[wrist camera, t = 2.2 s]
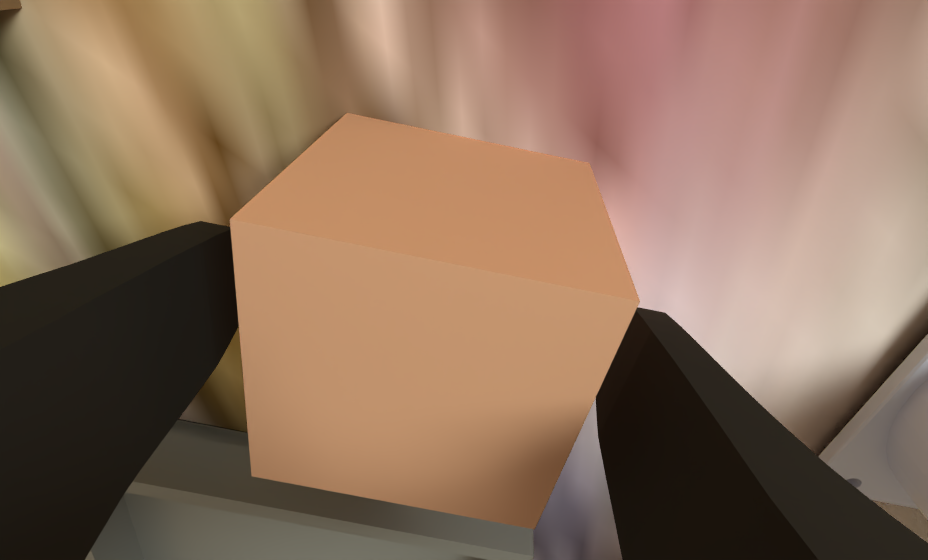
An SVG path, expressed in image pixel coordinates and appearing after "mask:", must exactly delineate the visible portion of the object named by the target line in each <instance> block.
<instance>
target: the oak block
mask: <svg viewBox="0 0 928 560" xmlns="http://www.w3.org/2000/svg"><path fill="white" fill-rule="evenodd" d="M18 8H22V6H21V2H20V0H0V10H8V9H18Z"/></svg>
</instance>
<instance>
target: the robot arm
mask: <svg viewBox="0 0 928 560" xmlns="http://www.w3.org/2000/svg"><path fill="white" fill-rule="evenodd" d="M238 326H239V322H238V310H237V299H236V287H235V275H234V263H233V251H232V240H231V228H230V227H227V226H222V225H217V224H212V223H207V222H202V221H199V222H195V223H191V224H187V225H184V226H181V227H177V228H174V229H171V230H168V231H165V232H162V233H159V234H156V235H153V236H151V237H148V238H145V239H142V240H139V241H136V242H134V243H131V244H128V245H125V246H122V247H119V248H117V249H114V250H111V251H108V252H105V253H102V254H99V255H97V256H94V257H91V258H88V259H85V260H82V261H80V262H77V263H74V264H71V265H68V266H65V267H61V268H58V269H55V270H52V271H49V272H46V273H43V274H39V275H36V276H33V277H30V278H27V279H24V280H21V281H17V282H14V283H11V284H8V285H5V286H2V287H0V560H85V559H86V557H87V555H88V554H89V552H90V550H91V548H92V547H93V545H94V543H95V542H96V540H97V538H98V537H99V535H100V533H101V532H102V530H103V528H104V527H105V525H106V523H107V522H108V520H109V518H110V517H111V515H112V513H113V512H114V510H115V508H116V507H117V505H118V503H119V502H120V500H121V498H122V497H123V495H124V494H125V492H126V491H127V489H128V488H129V486H130V485H131V483H132V482H133V480H134V479H135V477H136V476H137V474H138V473H139V472H140V470H141V469H142V467H143V466H144V465H145V463H146V462H147V461H148V459H149V458H150V457H151V455H152V454H153V453H154V451H155V450H156V448H157V447H158V446H159V444H160V443H161V442H162V440H163V439H164V438H165V436H166V435H167V434H168V432H169V431H170V430H171V428H172V427H173V425H174V424H175V423H176V421H177V420H178V419H179V417H180V416H181V415H182V413H183V412H184V411H185V409H186V408H187V407H188V405H189V404H190V402H191V401H192V400H193V398H194V397H195V396H196V394H197V393H198V391H199V390H200V389H201V387H202V386H203V385H204V383H205V382H206V380H207V379H208V378H209V376H210V375H211V373H212V372H213V371H214V369H215V368H216V366H217V365H218V363H219V361H220V360H221V358H222V356H223V354H224V353H225V351H226V349H227V347H228V345H229V344H230V342H231V340H232V338H233V336H234V334H235V332H236V330H237V328H238ZM596 411H597V426H598V438H599V443H600V449H601V454H602V459H603V464H604V469H605V475H606V480H607V485H608V490H609V494H610V499H611V504H612V509H613V514H614V519H615V524H616V529H617V534H618V539H619V544H620V549H621V554H622V559H623V560H928V543H927V542H926V541H924V540H923V539H921V538H920V537H919V536H917V535H916V534H915V533H913V532H912V531H911V530H909V529H908V528H907V527H905V526H904V525H903V524H901V523H900V522H899V521H897V520H896V519H895V518H893V517H892V516H891V515H889V514H888V513H887V512H886V511H884V510H883V509H882V508H881V507H879V506H878V505H877V504H876V503H874V502H873V501H872V500H874V501H879V502H884V503H889V504H894V505H899V506H905V507H910V508H915V509H919V510H920V511H921V512H922V514H923V515H924V517H925V518H926V519H927V521H928V334H927V335H926V336H925V337H924V339H923V340H922V341H921V342H920V343H919V344H918V345H917V346H916V347H915V349H914V350H913V351H912V352H911V353H910V354H909V355H908V356H907V358H906V359H905V360H904V361H903V362H902V363H901V364H900V365H899V367H898V368H897V369H896V370H895V371H894V372H893V373H892V374H891V375H890V377H889V378H888V379H887V380H886V381H885V382H884V383H883V384H882V386H881V387H880V388H879V389H878V390H877V391H876V392H875V393H874V395H873V396H872V397H871V398H870V399H869V400H868V401H867V402H866V403H865V405H864V406H863V407H862V408H861V409H860V410H859V411H858V412H857V414H856V415H855V416H854V417H853V418H852V419H851V420H850V421H849V423H848V424H847V425H846V426H845V427H844V428H843V429H842V430H841V431H840V433H839V434H838V435H837V436H836V437H835V438H834V439H833V440H832V442H831V443H830V444H829V445H828V446H827V447H826V448H825V449H824V451H823V452H822V453H821V454H820V455H819V456H817V455H815V454H814V453H813V452H812V451H811V450H810V449H809V448H808V447H806V446H805V445H804V444H803V443H802V442H801V441H800V440H799V439H797V438H796V437H795V436H794V435H793V434H792V433H791V432H790V431H788V430H787V429H786V428H785V427H784V426H783V425H782V424H781V423H780V422H778V421H777V420H776V419H775V418H774V417H773V416H772V415H771V414H770V413H769V412H768V411H767V410H766V409H765V408H763V407H762V406H761V405H760V404H759V403H758V402H757V401H756V400H755V399H754V398H753V397H752V396H751V395H750V394H749V393H748V392H747V391H746V390H745V389H744V388H743V387H742V386H741V385H740V384H739V383H737V382H736V381H735V380H734V379H733V378H732V377H731V376H730V375H729V374H728V373H727V372H726V371H725V370H724V369H723V368H722V367H721V366H720V365H719V364H718V363H717V362H716V361H715V360H714V359H713V358H712V357H711V356H710V355H709V354H708V353H707V352H706V351H705V350H704V349H703V348H702V347H701V346H700V345H699V344H698V343H697V342H696V341H695V340H694V339H693V338H692V337H691V336H690V335H689V334H688V333H687V332H686V331H685V330H684V329H683V328H682V327H681V326H680V325H679V324H677V323H676V322H675V321H674V320H673V319H672V318H671V317H669V316H668V315H667V314H666V313H663V312H658V311H653V310H648V309H643V308H638V307H637V309H636V311H635V313H634V315H633V317H632V320H631V322H630V324H629V326H628V328H627V330H626V333H625V335H624V337H623V339H622V341H621V343H620V346H619V348H618V350H617V352H616V354H615V356H614V359H613V361H612V363H611V365H610V367H609V369H608V372H607V374H606V376H605V378H604V380H603V382H602V385H601V387H600V389H599V391H598V393H597V395H596Z"/></svg>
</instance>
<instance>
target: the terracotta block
mask: <svg viewBox="0 0 928 560" xmlns="http://www.w3.org/2000/svg"><path fill="white" fill-rule="evenodd" d="M230 228H231V240H232V251H233V263H234V275H235V287H236V299H237V310H238V322H239V334H240V346H241V358H242V369H243V381H244V393H245V405H246V417H247V428H248V440H249V452H250V464H251V476H253V477H258V478H264V479H269V480H274V481H280V482H285V483H290V484H296V485H301V486H306V487H312V488H317V489H322V490H327V491H333V492H338V493H343V494H349V495H354V496H359V497H365V498H370V499H375V500H381V501H386V502H391V503H397V504H402V505H407V506H413V507H418V508H423V509H429V510H434V511H439V512H445V513H450V514H455V515H461V516H466V517H471V518H476V519H482V520H487V521H492V522H498V523H503V524H508V525H514V526H519V527H524V528H530V529H535V528H536V525H537V523H538V521H539V519H540V517H541V515H542V512H543V510H544V508H545V506H546V504H547V502H548V499H549V497H550V495H551V493H552V491H553V489H554V486H555V484H556V482H557V480H558V478H559V476H560V473H561V471H562V469H563V467H564V465H565V463H566V460H567V458H568V456H569V454H570V452H571V450H572V447H573V445H574V443H575V441H576V439H577V437H578V434H579V432H580V430H581V428H582V426H583V424H584V421H585V419H586V417H587V415H588V413H589V411H590V408H591V406H592V404H593V402H594V400H595V398H596V395H597V393H598V391H599V389H600V387H601V385H602V382H603V380H604V378H605V376H606V374H607V372H608V369H609V367H610V365H611V363H612V361H613V359H614V356H615V354H616V352H617V350H618V348H619V346H620V343H621V341H622V339H623V337H624V335H625V333H626V330H627V328H628V326H629V324H630V322H631V320H632V317H633V315H634V313H635V311H636V309H637V307H638V304H639V302H640V300H639V298H638V295H637V292H636V289H635V287H634V284H633V281H632V278H631V276H630V273H629V270H628V268H627V265H626V262H625V259H624V257H623V254H622V251H621V248H620V246H619V243H618V240H617V237H616V235H615V232H614V229H613V226H612V224H611V221H610V218H609V216H608V213H607V210H606V207H605V205H604V202H603V199H602V196H601V194H600V191H599V188H598V185H597V183H596V180H595V177H594V174H593V172H592V169H591V166H590V164H589V163H586V162H581V161H576V160H572V159H567V158H562V157H557V156H552V155H548V154H543V153H538V152H533V151H528V150H523V149H519V148H514V147H509V146H504V145H499V144H494V143H490V142H485V141H480V140H475V139H470V138H466V137H461V136H456V135H451V134H446V133H441V132H437V131H432V130H427V129H422V128H417V127H413V126H408V125H403V124H398V123H393V122H388V121H384V120H379V119H374V118H369V117H364V116H359V115H355V114H350V113H346V114H345V115H344V116H343V117H342V118H341V119H340V120H338V121H337V122H336V123H335V124H334V125H333V126H332V127H331V128H330V129H328V130H327V131H326V132H325V133H324V134H323V135H322V136H321V137H320V138H319V139H317V140H316V141H315V142H314V143H313V144H312V145H311V146H310V147H309V148H308V149H306V150H305V151H304V152H303V153H302V154H301V155H300V156H299V157H298V158H297V159H295V160H294V161H293V162H292V163H291V164H290V165H289V166H288V167H287V168H286V169H284V170H283V171H282V172H281V173H280V174H279V175H278V176H277V177H276V178H275V179H273V180H272V181H271V182H270V183H269V184H268V185H267V186H266V187H265V188H263V189H262V190H261V191H260V192H259V193H258V194H257V195H256V196H255V197H254V198H252V199H251V200H250V201H249V202H248V203H247V204H246V205H245V206H244V207H243V208H241V209H240V210H239V211H238V212H237V213H236V214H235V215H234V216H233V217H232V218H230Z"/></svg>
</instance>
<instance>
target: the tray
mask: <svg viewBox="0 0 928 560" xmlns="http://www.w3.org/2000/svg"><path fill="white" fill-rule="evenodd" d="M533 557H534V547H533V529H530V528H524V527H519V526H514V525H508V524H503V523H498V522H492V521H487V520H482V519H476V518H471V517H466V516H461V515H455V514H450V513H445V512H439V511H434V510H429V509H423V508H418V507H413V506H407V505H402V504H397V503H391V502H386V501H381V500H375V499H370V498H365V497H359V496H354V495H349V494H343V493H338V492H333V491H327V490H322V489H317V488H312V487H306V486H301V485H296V484H290V483H285V482H280V481H274V480H269V479H264V478H258V477H253V476H251V464H250V452H249V440H248V433H245V432H240V431H235V430H229V429H224V428H219V427H214V426H208V425H203V424H198V423H193V422H187V421H182V420H177V421H176V423H175V424H174V425H173V427H172V428H171V430H170V431H169V432H168V434H167V435H166V436H165V438H164V439H163V440H162V442H161V443H160V444H159V446H158V447H157V448H156V450H155V451H154V453H153V454H152V455H151V457H150V458H149V459H148V461H147V462H146V463H145V465H144V466H143V467H142V469H141V470H140V472H139V473H138V474H137V476H136V477H135V479H134V480H133V482H132V483H131V485H130V486H129V488H128V489H127V491H126V492H125V494H124V495H123V497H122V498H121V500H120V502H119V503H118V505H117V507H116V508H115V510H114V512H113V513H112V515H111V517H110V518H109V520H108V522H107V523H106V525H105V527H104V528H103V530H102V532H101V533H100V535H99V537H98V538H97V540H96V542H95V543H94V545H93V547H92V548H91V550H90V552H89V554H88V555H87V557H86V559H85V560H532V559H533Z"/></svg>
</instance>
